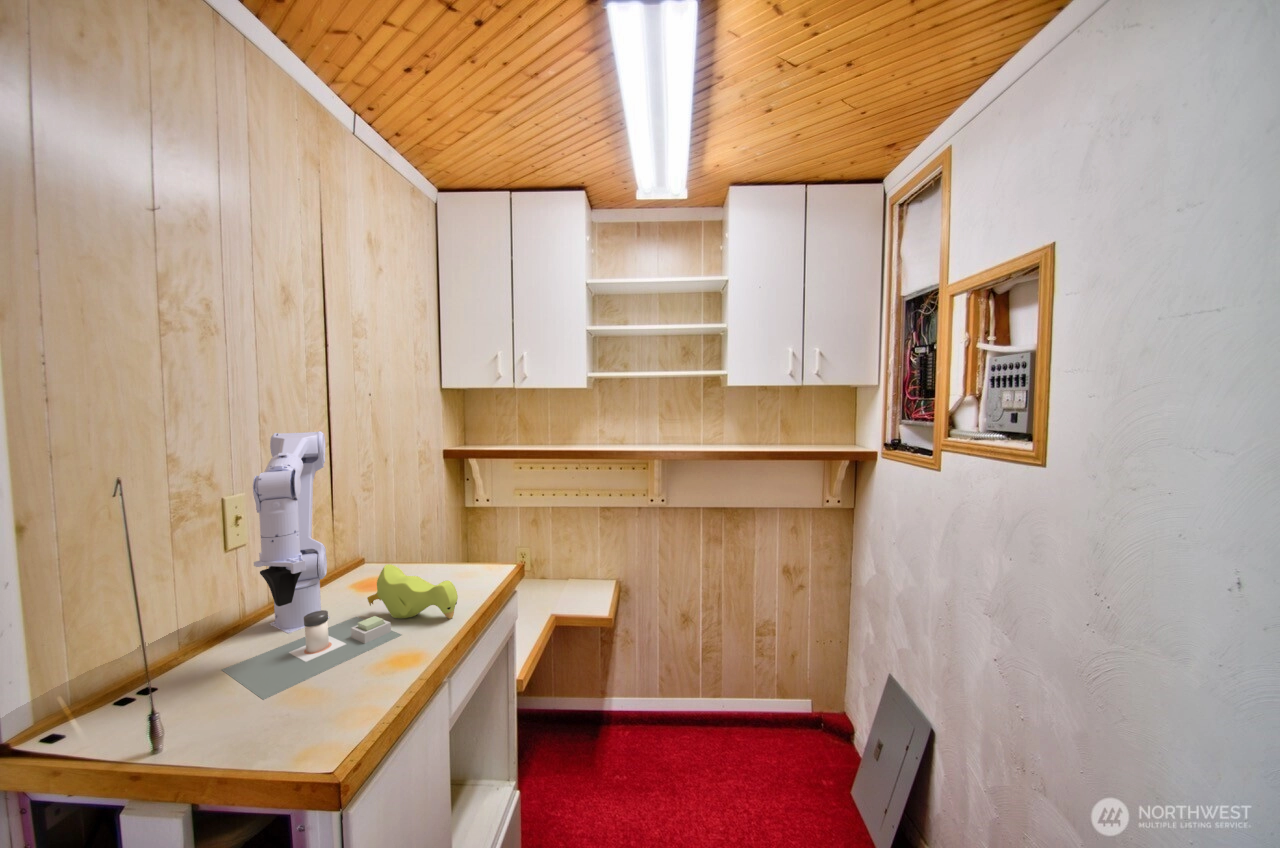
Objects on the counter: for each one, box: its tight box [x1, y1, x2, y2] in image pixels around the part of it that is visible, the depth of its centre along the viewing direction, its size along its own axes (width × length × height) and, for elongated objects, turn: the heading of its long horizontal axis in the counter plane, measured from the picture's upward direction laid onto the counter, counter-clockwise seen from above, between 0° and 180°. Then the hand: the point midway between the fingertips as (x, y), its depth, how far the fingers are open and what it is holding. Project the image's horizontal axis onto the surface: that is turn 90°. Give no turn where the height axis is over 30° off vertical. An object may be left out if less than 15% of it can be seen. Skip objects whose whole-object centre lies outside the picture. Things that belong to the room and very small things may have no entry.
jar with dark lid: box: [304, 609, 329, 653], centre depth 85 cm, size 4×4×7 cm
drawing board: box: [221, 616, 403, 701], centre depth 85 cm, size 18×23×2 cm
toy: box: [367, 563, 459, 619], centre depth 99 cm, size 6×17×20 cm
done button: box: [358, 615, 385, 631], centre depth 90 cm, size 3×3×2 cm
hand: (284, 603), depth 83 cm, fingers closed
